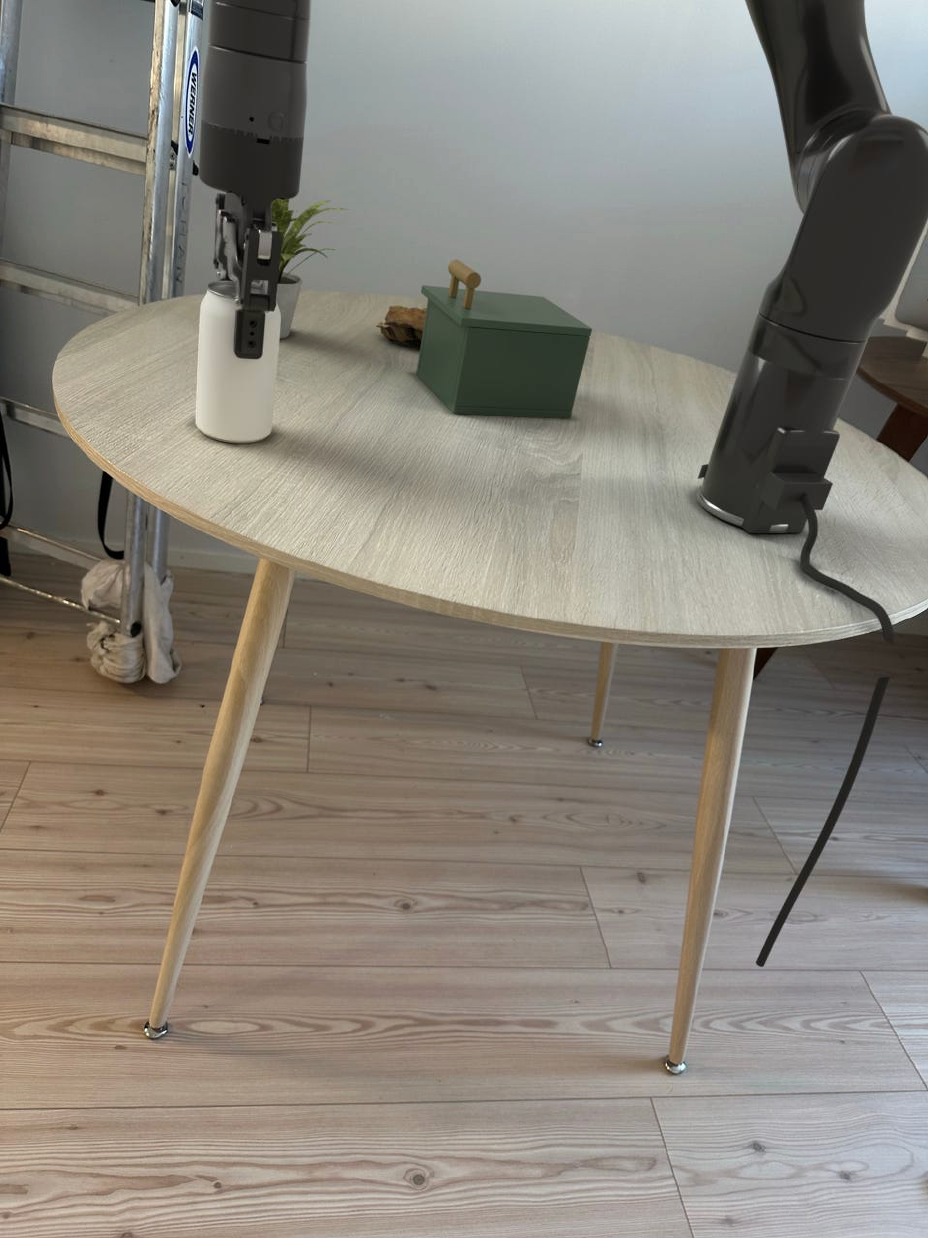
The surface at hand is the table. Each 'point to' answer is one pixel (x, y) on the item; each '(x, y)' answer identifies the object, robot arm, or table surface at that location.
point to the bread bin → (500, 368)
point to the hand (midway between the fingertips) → (239, 342)
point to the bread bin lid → (499, 307)
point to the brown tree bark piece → (403, 323)
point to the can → (234, 372)
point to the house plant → (291, 256)
